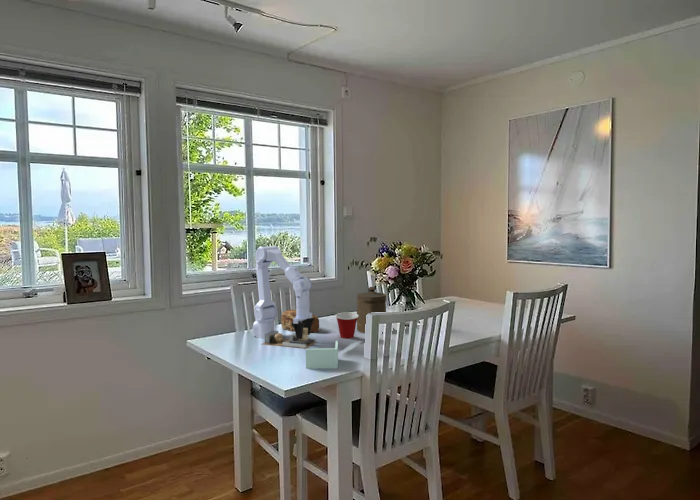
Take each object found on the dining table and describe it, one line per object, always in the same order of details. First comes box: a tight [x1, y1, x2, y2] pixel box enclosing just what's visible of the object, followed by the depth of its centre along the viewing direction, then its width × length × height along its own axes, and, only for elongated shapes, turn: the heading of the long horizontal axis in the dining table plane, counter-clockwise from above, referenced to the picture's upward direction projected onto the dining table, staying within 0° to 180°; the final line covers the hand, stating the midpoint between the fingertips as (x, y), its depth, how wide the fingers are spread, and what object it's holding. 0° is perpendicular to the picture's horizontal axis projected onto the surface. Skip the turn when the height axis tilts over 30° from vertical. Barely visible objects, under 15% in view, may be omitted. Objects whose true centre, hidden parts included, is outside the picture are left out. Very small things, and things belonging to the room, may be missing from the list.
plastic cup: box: [335, 311, 358, 339], centre depth 230 cm, size 11×11×12 cm
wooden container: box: [356, 286, 387, 334], centre depth 249 cm, size 15×15×22 cm
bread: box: [280, 309, 320, 334], centre depth 250 cm, size 19×11×10 cm, turn 45°
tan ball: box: [274, 332, 284, 343], centre depth 222 cm, size 4×4×4 cm
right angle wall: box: [305, 340, 339, 370], centre depth 194 cm, size 12×12×8 cm
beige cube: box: [288, 328, 311, 345], centre depth 218 cm, size 7×7×7 cm
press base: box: [261, 330, 318, 350], centre depth 220 cm, size 22×12×6 cm, turn 68°
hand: (303, 336), depth 217 cm, fingers open, 7 cm apart
